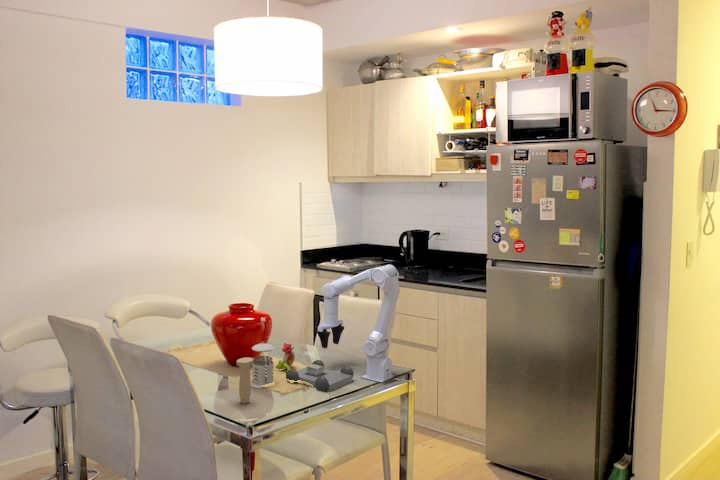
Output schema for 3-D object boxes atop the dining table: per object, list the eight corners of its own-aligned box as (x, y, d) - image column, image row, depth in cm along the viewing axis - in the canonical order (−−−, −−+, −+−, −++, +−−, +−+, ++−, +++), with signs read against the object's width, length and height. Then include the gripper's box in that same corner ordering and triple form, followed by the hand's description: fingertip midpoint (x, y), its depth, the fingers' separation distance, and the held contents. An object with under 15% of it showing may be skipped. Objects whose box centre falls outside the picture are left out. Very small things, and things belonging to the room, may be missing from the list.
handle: (256, 400, 245) (256, 358, 243) (245, 406, 239) (245, 363, 238) (244, 398, 247) (244, 356, 245) (233, 404, 241) (233, 361, 240)
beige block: (323, 379, 269) (323, 366, 269) (317, 381, 266) (317, 369, 265) (313, 376, 272) (313, 364, 271) (306, 379, 269) (306, 366, 268)
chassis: (354, 380, 269) (354, 368, 268) (326, 392, 255) (327, 379, 254) (313, 370, 280) (313, 358, 280) (284, 381, 266) (284, 368, 266)
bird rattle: (282, 372, 284) (272, 369, 276) (287, 344, 287) (278, 341, 279) (296, 374, 282) (286, 371, 274) (301, 346, 285) (292, 343, 277)
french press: (271, 378, 270) (271, 314, 267) (281, 387, 259) (281, 321, 256) (246, 381, 266) (246, 316, 263) (255, 390, 255) (255, 323, 252)
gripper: (333, 308, 289) (332, 340, 291) (311, 314, 277) (311, 347, 279) (347, 310, 286) (346, 343, 287) (326, 316, 274) (325, 351, 275)
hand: (330, 345), depth 283 cm, fingers open, 7 cm apart
